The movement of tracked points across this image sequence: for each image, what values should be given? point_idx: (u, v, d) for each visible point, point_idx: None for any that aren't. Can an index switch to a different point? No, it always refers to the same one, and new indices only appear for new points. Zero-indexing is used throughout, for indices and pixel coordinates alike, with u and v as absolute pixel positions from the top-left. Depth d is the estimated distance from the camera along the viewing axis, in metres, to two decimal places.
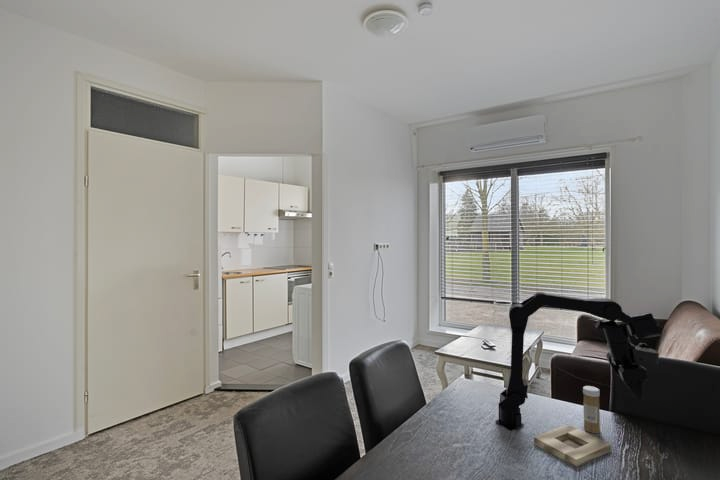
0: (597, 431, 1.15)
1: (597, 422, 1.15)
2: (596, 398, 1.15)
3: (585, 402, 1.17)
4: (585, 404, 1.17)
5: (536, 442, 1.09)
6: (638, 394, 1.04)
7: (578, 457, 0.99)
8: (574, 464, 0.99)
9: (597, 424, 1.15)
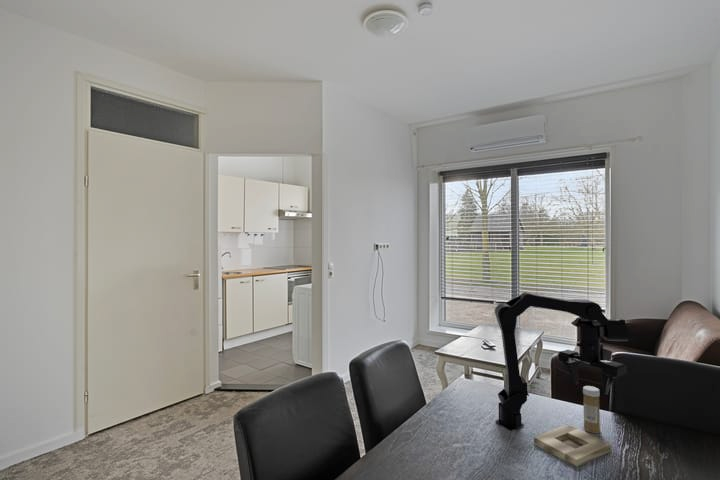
0: (597, 431, 1.15)
1: (597, 422, 1.15)
2: (596, 398, 1.15)
3: (585, 402, 1.17)
4: (585, 404, 1.17)
5: (536, 442, 1.09)
6: (608, 389, 1.12)
7: (578, 457, 0.99)
8: (574, 464, 0.99)
9: (597, 424, 1.15)
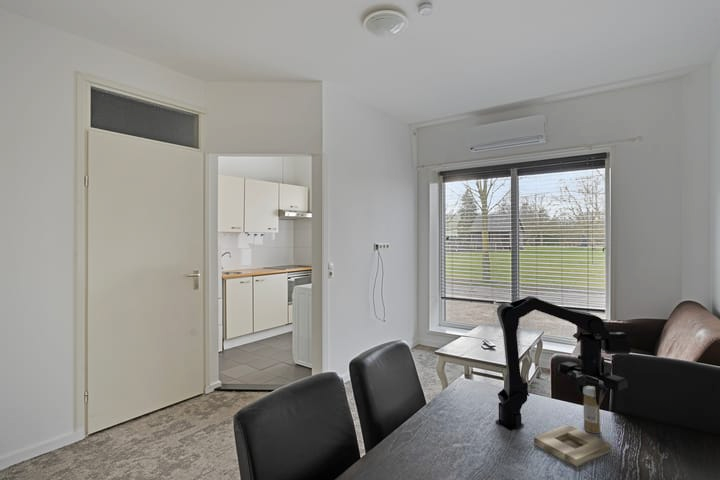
0: (597, 431, 1.15)
1: (597, 422, 1.15)
2: None
3: (585, 402, 1.17)
4: (585, 404, 1.17)
5: (536, 442, 1.09)
6: (600, 400, 1.15)
7: (578, 457, 0.99)
8: (574, 464, 0.99)
9: (597, 424, 1.15)
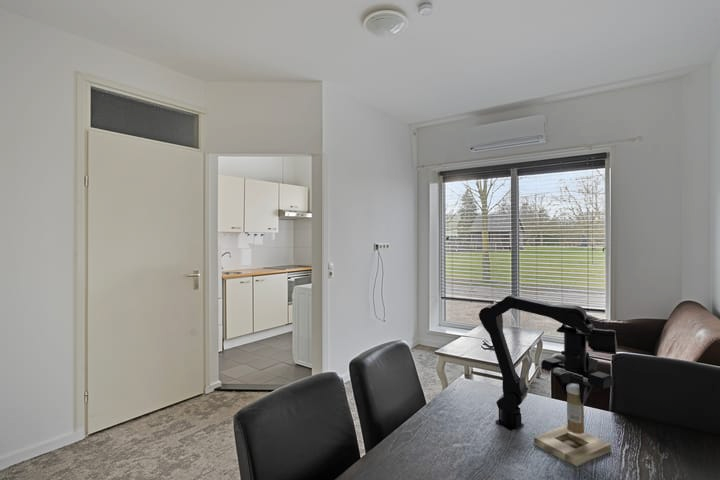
0: (581, 432, 1.08)
1: (581, 422, 1.08)
2: None
3: (569, 401, 1.09)
4: (569, 403, 1.10)
5: (536, 442, 1.09)
6: (585, 399, 1.07)
7: (578, 457, 0.99)
8: (574, 464, 0.99)
9: (581, 424, 1.08)
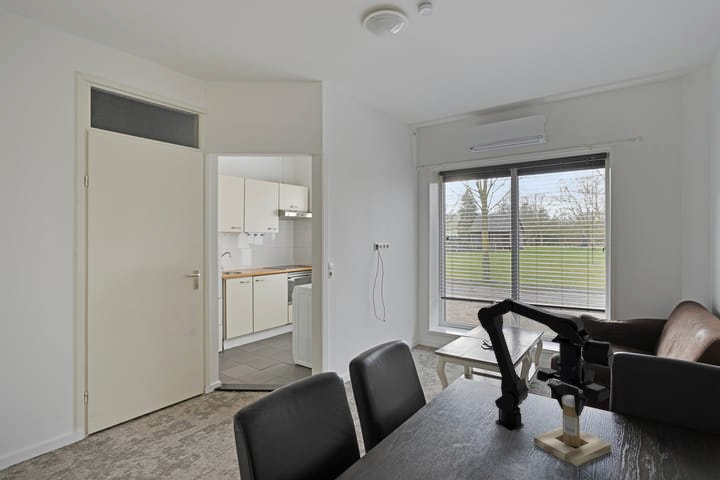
0: (577, 444, 1.06)
1: (577, 435, 1.06)
2: None
3: (564, 413, 1.07)
4: (564, 415, 1.08)
5: (536, 442, 1.09)
6: (580, 411, 1.05)
7: (578, 457, 0.99)
8: (574, 464, 0.99)
9: (576, 437, 1.06)
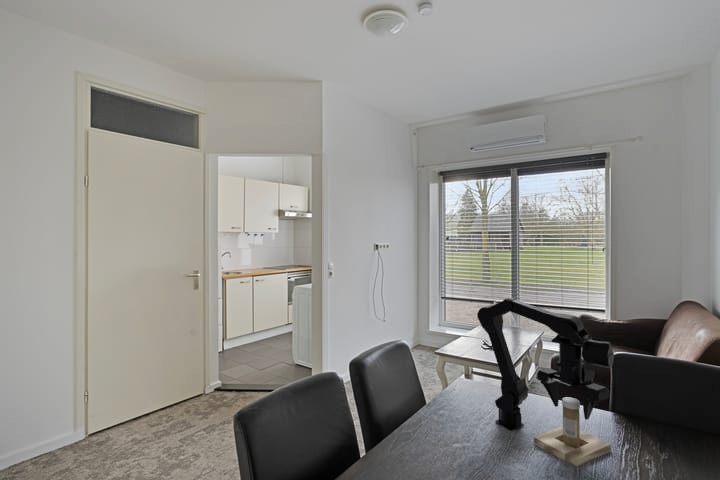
0: (577, 447, 1.06)
1: (577, 437, 1.06)
2: (576, 410, 1.06)
3: (564, 415, 1.07)
4: (564, 417, 1.08)
5: (536, 442, 1.09)
6: (589, 414, 1.03)
7: (578, 457, 0.99)
8: (574, 464, 0.99)
9: (576, 439, 1.06)
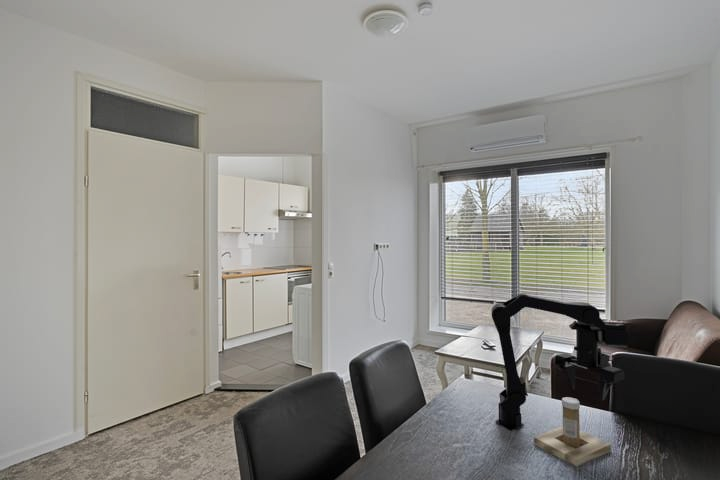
0: (577, 447, 1.06)
1: (577, 437, 1.06)
2: (575, 410, 1.06)
3: (564, 415, 1.07)
4: (564, 417, 1.08)
5: (536, 442, 1.09)
6: (604, 395, 1.10)
7: (578, 457, 0.99)
8: (574, 464, 0.99)
9: (576, 440, 1.06)
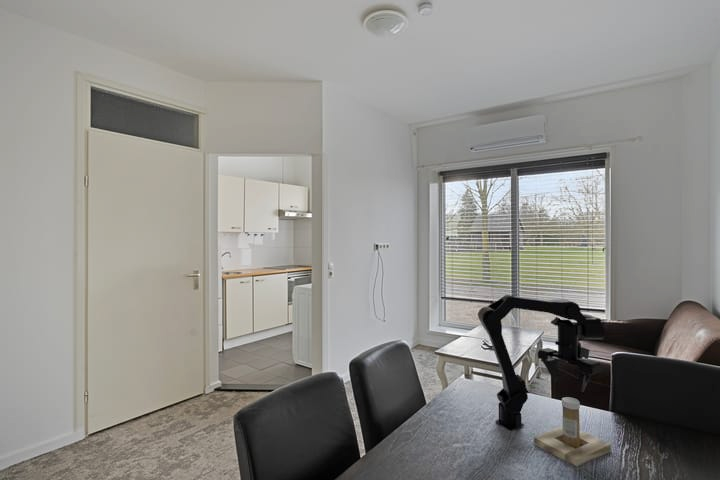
0: (577, 447, 1.06)
1: (577, 437, 1.06)
2: (575, 410, 1.06)
3: (564, 415, 1.07)
4: (564, 417, 1.08)
5: (536, 442, 1.09)
6: (584, 387, 1.15)
7: (578, 457, 0.99)
8: (574, 464, 0.99)
9: (576, 440, 1.06)
